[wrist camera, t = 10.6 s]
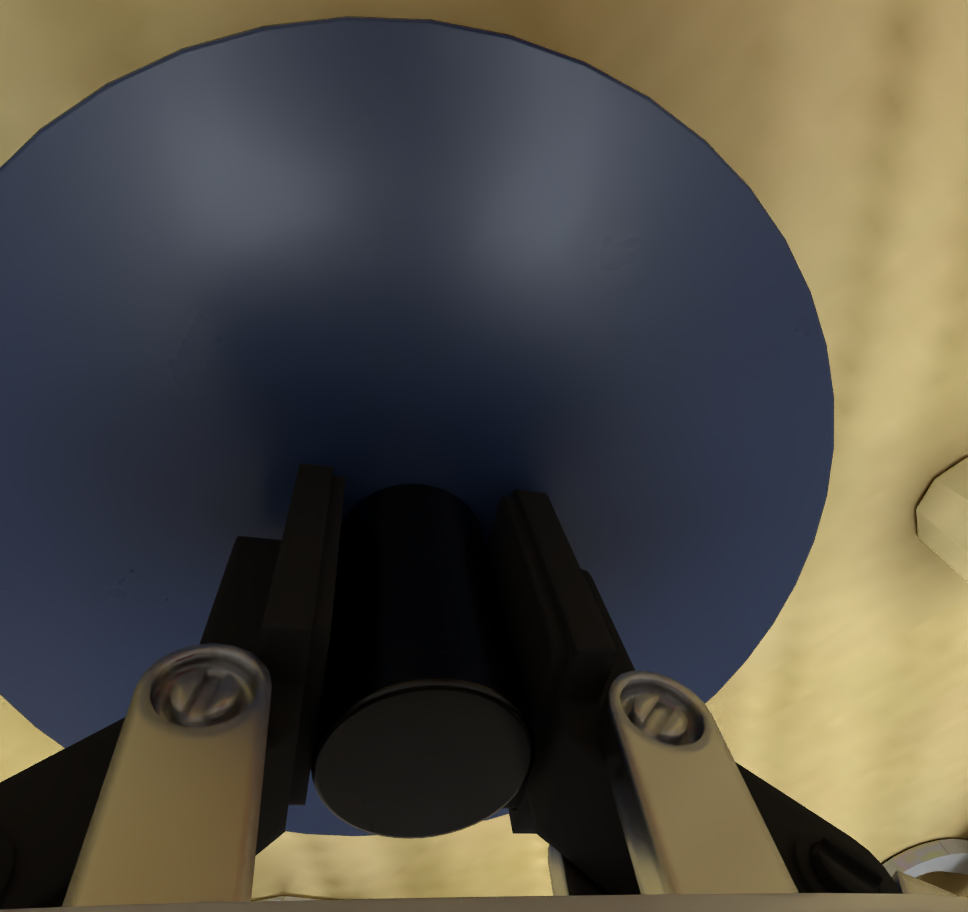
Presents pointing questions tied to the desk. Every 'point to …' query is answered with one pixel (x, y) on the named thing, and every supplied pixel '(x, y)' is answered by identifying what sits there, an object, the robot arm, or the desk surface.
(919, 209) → the desk surface
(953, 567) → the milkshake
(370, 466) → the lid
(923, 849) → the network device
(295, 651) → the robot arm
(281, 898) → the table lamp
